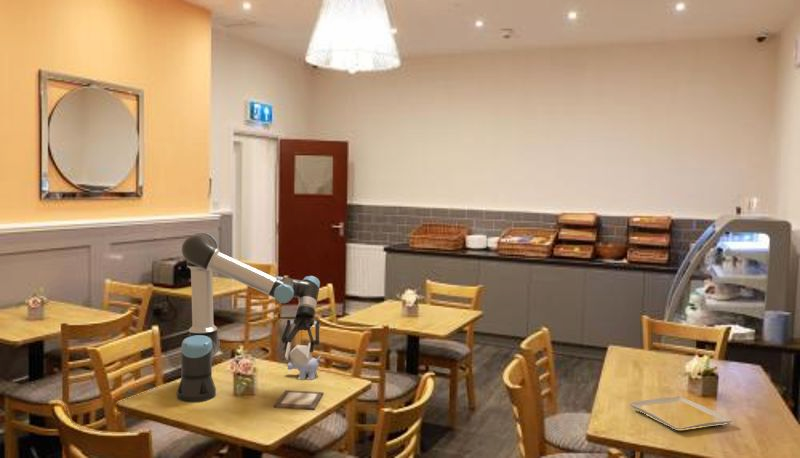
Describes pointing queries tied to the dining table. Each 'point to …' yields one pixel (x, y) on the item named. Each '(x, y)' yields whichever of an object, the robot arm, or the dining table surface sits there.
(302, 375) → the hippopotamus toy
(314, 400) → the picture frame
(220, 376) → the dining table surface
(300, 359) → the die
